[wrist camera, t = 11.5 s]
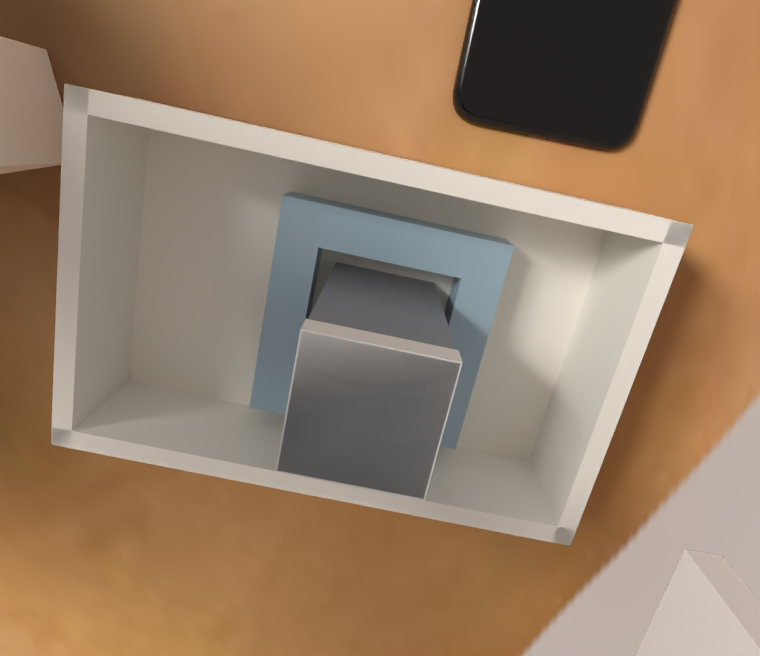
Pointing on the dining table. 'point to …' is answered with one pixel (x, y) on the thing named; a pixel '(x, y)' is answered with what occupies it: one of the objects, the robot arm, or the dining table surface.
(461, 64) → the smartphone
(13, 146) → the cream plug
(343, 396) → the grey plug
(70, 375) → the tray box
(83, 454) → the dining table surface
